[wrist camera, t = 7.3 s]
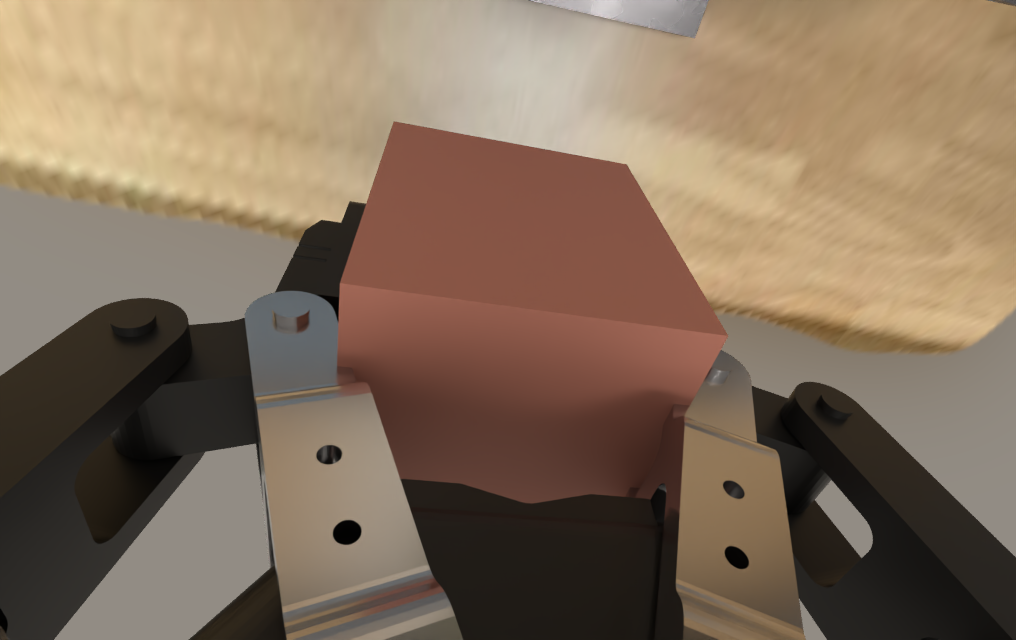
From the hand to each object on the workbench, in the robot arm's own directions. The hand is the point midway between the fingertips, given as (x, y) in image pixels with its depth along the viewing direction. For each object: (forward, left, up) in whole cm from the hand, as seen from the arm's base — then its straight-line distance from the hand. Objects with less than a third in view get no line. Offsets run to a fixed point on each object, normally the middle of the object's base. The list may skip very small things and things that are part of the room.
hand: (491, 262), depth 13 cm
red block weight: (0, 0, -1) cm, 1 cm away
